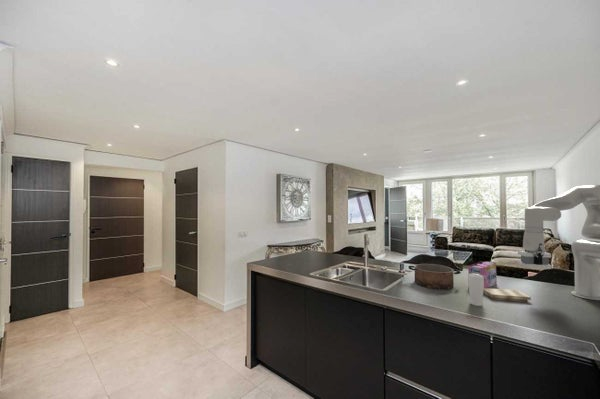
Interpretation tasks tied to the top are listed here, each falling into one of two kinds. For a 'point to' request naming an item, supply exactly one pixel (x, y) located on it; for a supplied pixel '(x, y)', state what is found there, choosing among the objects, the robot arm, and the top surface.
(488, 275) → the gum box
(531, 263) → the block
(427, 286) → the cooking pot
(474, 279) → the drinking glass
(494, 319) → the top surface
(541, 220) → the robot arm
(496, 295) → the wavy cream panel
